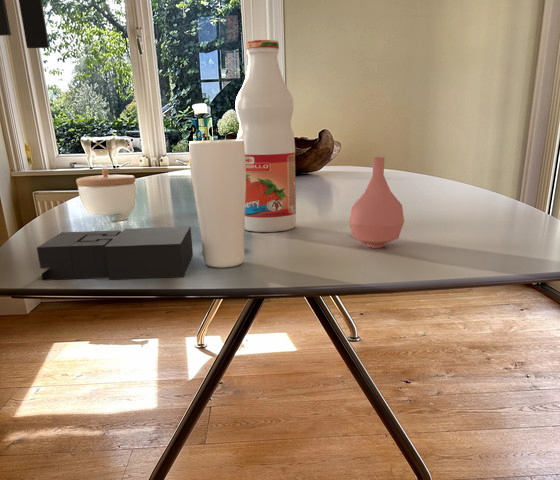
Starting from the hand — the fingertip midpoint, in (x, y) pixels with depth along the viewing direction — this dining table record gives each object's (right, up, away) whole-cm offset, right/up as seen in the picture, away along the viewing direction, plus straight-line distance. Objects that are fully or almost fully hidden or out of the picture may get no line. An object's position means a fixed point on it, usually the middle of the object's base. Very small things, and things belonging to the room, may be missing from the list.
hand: (19, 42), depth 73 cm
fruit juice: (+30, -16, +29) cm, 45 cm away
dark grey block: (+7, -27, +4) cm, 28 cm away
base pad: (+14, -27, +5) cm, 30 cm away
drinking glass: (+25, -26, +5) cm, 36 cm away
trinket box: (-1, -11, +42) cm, 43 cm away
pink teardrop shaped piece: (+46, -22, +13) cm, 52 cm away
